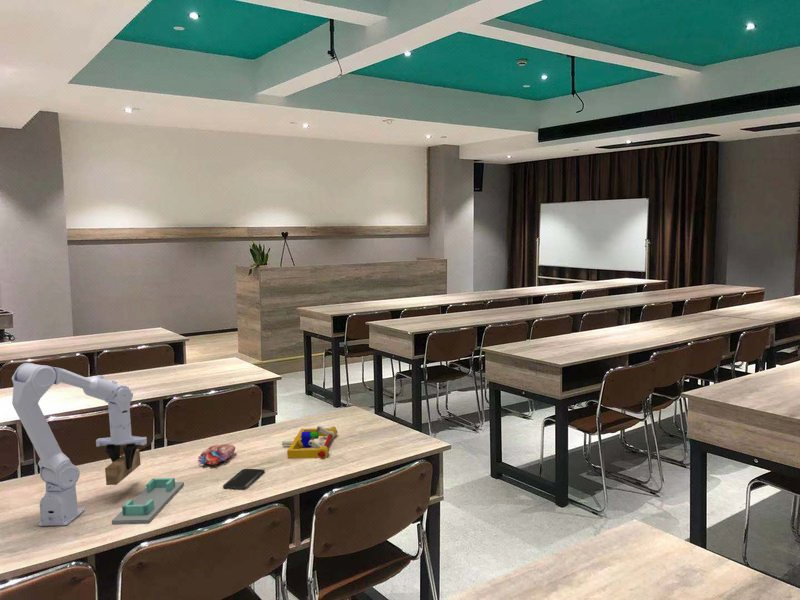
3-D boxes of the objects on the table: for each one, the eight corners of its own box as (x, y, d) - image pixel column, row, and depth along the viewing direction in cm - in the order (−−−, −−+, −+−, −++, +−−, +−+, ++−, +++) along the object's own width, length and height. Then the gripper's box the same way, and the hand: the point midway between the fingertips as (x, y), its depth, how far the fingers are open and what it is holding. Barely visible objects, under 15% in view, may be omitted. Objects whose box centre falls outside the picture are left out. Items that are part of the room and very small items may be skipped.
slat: (116, 484, 180) (115, 468, 179) (106, 485, 180) (104, 468, 179) (140, 464, 196) (139, 449, 195) (131, 464, 196) (129, 449, 195)
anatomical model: (205, 458, 221) (191, 464, 206) (207, 441, 221) (194, 446, 206) (235, 460, 221) (224, 467, 206) (237, 444, 221) (226, 449, 206)
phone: (265, 469, 202) (245, 487, 187) (265, 472, 202) (245, 491, 187) (243, 468, 204) (221, 486, 189) (243, 471, 204) (221, 490, 189)
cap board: (148, 523, 167) (147, 510, 167) (112, 524, 167) (111, 511, 167) (184, 485, 193) (183, 474, 193) (152, 485, 193) (151, 474, 193)
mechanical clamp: (338, 417, 241) (326, 442, 211) (339, 433, 242) (327, 460, 212) (291, 418, 242) (272, 443, 212) (292, 434, 242) (273, 461, 213)
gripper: (149, 419, 190) (152, 463, 191) (102, 421, 190) (106, 464, 192) (139, 426, 183) (143, 471, 184) (91, 428, 183) (94, 472, 185)
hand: (123, 468), depth 187 cm, fingers closed on slat, 3 cm apart
